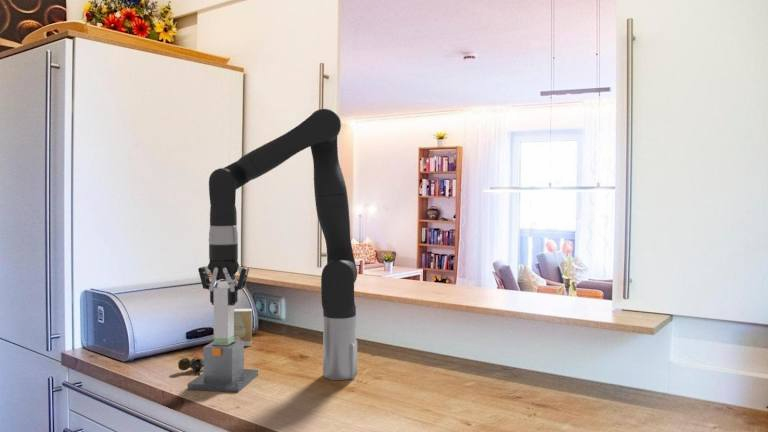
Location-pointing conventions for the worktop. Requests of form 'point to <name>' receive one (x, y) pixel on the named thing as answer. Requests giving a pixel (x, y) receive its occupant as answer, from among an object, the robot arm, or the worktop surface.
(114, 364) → the worktop surface
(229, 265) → the robot arm
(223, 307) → the column
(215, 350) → the stand base
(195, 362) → the regulator
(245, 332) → the skincare box
